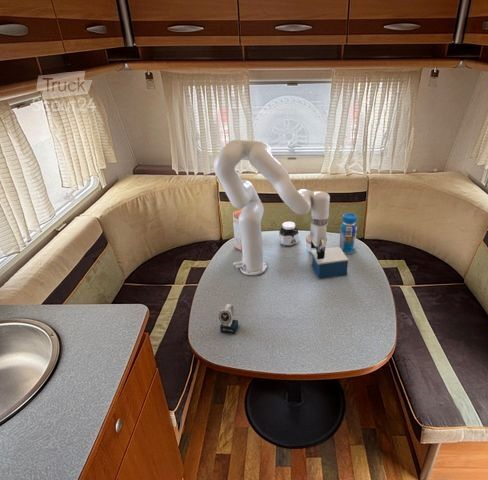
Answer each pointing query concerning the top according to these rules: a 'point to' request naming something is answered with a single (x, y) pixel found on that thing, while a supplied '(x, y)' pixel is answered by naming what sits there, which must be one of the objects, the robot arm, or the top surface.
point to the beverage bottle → (348, 233)
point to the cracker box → (237, 229)
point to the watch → (228, 320)
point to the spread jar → (288, 234)
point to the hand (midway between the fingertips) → (317, 253)
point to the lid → (330, 255)
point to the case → (330, 269)
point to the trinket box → (308, 243)
